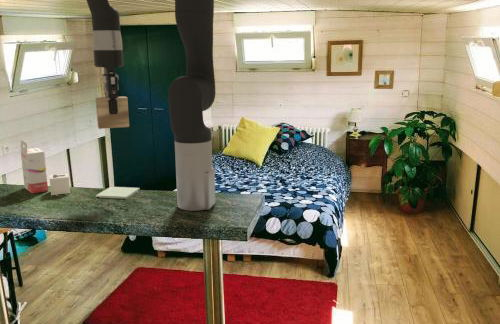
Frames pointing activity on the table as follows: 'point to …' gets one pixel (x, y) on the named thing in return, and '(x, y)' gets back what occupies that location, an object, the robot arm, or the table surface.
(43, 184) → the ink cartridge box
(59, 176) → the marked cube
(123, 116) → the birch block
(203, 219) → the table surface
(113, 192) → the sage mat
